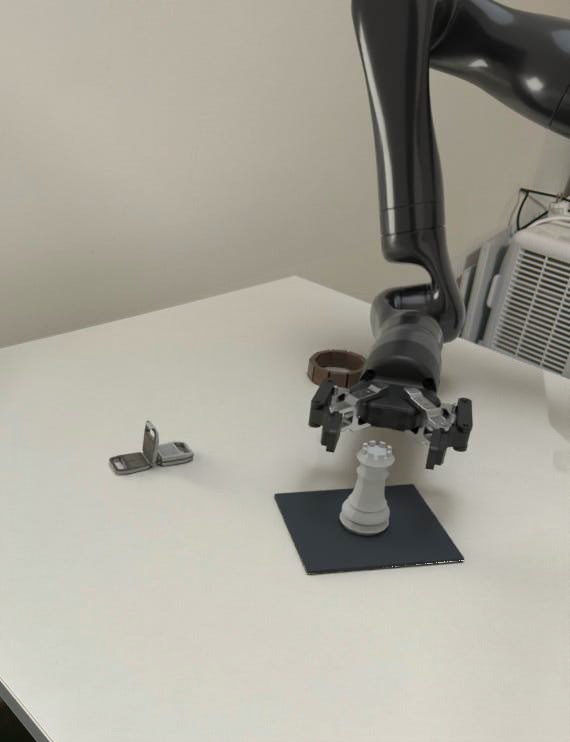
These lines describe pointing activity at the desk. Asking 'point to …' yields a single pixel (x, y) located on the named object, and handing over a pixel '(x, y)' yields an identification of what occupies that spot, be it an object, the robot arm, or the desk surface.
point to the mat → (356, 552)
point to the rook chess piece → (369, 491)
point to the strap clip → (153, 453)
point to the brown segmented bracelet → (339, 360)
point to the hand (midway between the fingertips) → (380, 451)
